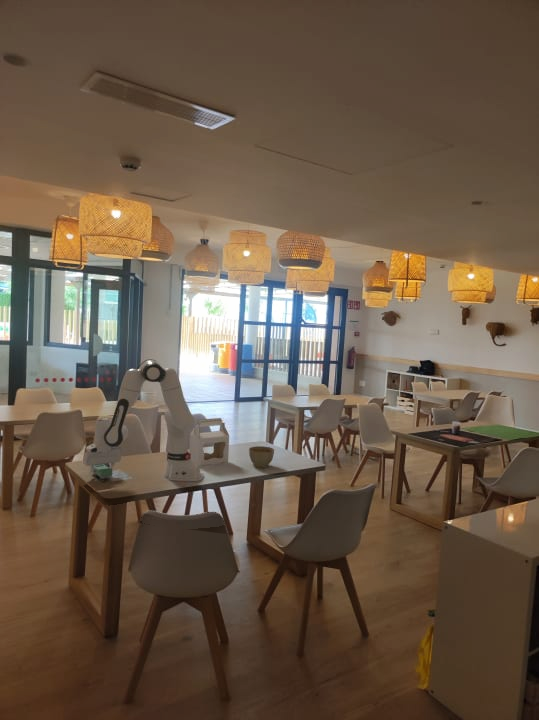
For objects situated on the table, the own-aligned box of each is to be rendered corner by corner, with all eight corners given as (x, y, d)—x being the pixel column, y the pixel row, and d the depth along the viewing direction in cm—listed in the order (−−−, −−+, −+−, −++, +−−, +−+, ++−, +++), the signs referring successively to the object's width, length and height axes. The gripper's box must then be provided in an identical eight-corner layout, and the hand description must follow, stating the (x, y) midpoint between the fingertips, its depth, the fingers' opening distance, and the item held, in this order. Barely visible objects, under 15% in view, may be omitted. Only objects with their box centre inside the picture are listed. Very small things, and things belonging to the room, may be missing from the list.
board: (112, 475, 285) (112, 470, 284) (100, 477, 281) (100, 472, 280) (103, 469, 296) (103, 464, 295) (92, 470, 292) (92, 465, 292)
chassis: (133, 480, 287) (133, 470, 286) (102, 484, 276) (102, 474, 276) (119, 470, 303) (120, 461, 302) (90, 474, 292) (90, 465, 292)
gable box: (197, 466, 321) (199, 421, 319) (188, 461, 331) (190, 418, 329) (228, 462, 334) (230, 419, 332) (218, 457, 344) (220, 415, 342)
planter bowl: (256, 461, 339) (256, 444, 339) (277, 465, 332) (278, 448, 331) (243, 466, 325) (244, 449, 324) (265, 471, 318) (266, 453, 317)
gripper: (119, 443, 296) (118, 467, 297) (82, 447, 283) (82, 472, 284) (123, 446, 291) (122, 470, 292) (86, 450, 278) (85, 475, 279)
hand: (102, 471), depth 288 cm, fingers open, 8 cm apart
